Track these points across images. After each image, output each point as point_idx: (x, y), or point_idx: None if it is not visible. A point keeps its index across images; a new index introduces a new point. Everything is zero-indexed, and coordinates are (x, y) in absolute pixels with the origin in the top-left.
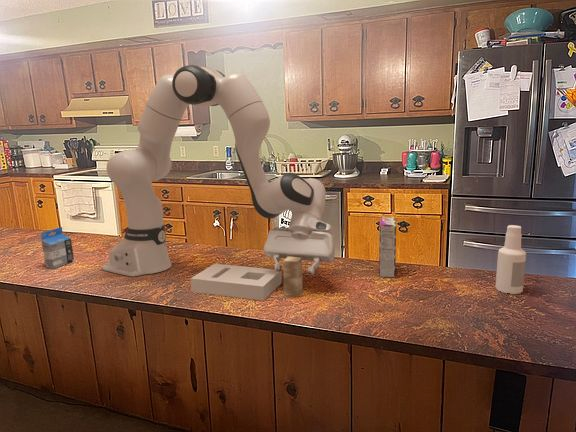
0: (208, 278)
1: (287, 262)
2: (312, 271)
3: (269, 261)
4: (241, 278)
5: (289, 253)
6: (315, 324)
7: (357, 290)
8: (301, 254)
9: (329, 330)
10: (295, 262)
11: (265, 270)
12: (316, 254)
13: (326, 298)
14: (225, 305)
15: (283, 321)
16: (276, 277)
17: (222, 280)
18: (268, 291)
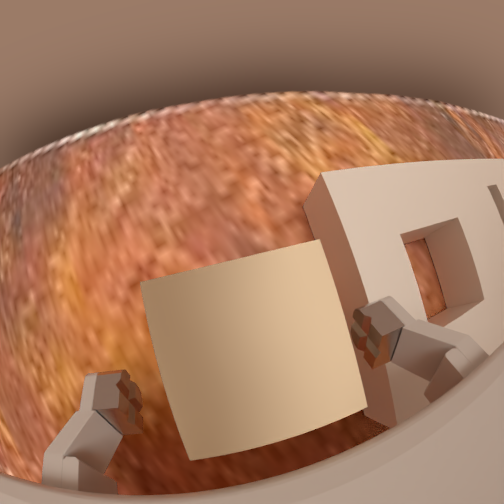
0: (491, 173)
1: (265, 255)
2: (86, 377)
3: None
4: (451, 216)
5: (378, 437)
6: (59, 155)
7: None
8: (207, 491)
9: (29, 153)
10: (167, 280)
11: None
12: (40, 494)
13: (86, 362)
14: (367, 131)
15: (143, 120)
16: None
17: (465, 171)
18: (328, 253)
